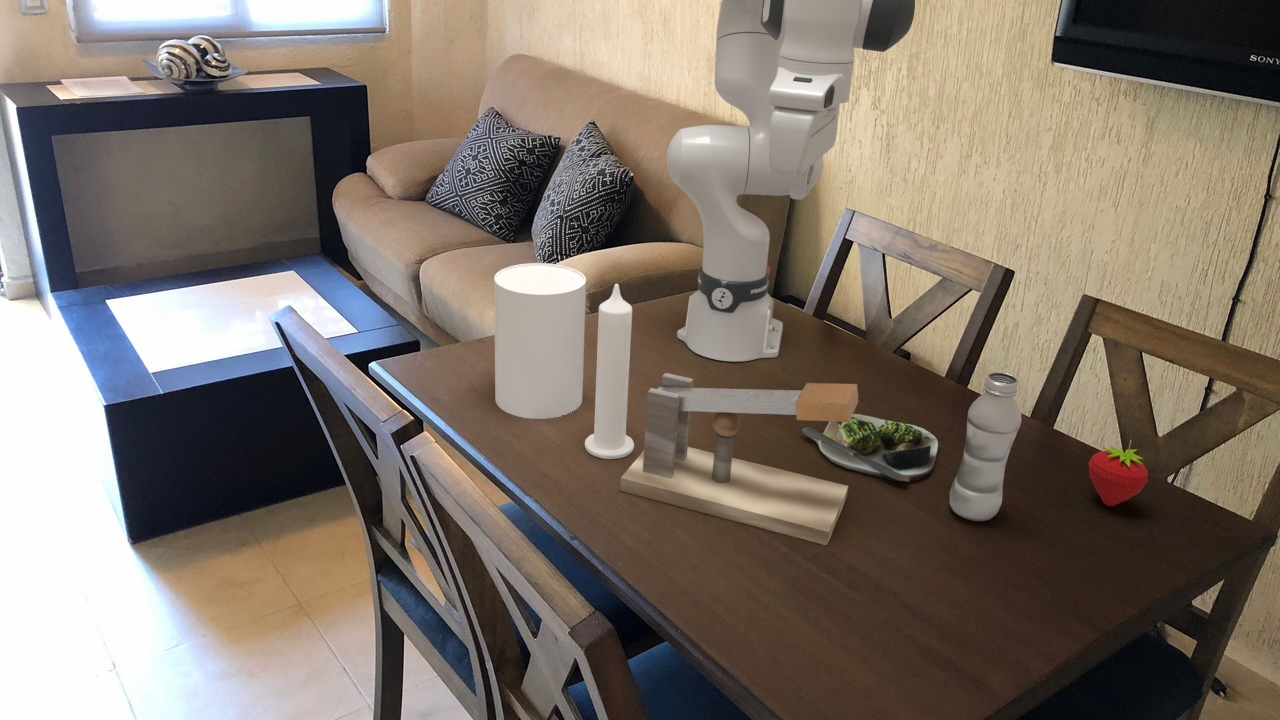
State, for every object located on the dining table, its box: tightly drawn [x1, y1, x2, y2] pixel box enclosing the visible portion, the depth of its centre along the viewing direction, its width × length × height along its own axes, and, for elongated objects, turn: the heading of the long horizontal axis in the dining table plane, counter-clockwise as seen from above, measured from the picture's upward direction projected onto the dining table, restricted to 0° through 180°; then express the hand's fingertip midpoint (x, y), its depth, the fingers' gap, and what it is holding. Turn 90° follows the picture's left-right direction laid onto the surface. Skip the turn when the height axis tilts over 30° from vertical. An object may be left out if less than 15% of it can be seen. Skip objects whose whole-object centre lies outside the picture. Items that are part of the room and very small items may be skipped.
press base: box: [619, 372, 849, 546], centre depth 131 cm, size 12×28×14 cm, turn 68°
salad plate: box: [802, 413, 940, 483], centre depth 147 cm, size 19×18×5 cm
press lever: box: [657, 382, 859, 422], centre depth 128 cm, size 6×26×2 cm, turn 68°
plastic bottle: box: [949, 371, 1022, 522], centre depth 129 cm, size 6×7×20 cm
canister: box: [493, 262, 587, 420], centre depth 153 cm, size 14×14×20 cm
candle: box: [584, 283, 635, 460], centre depth 139 cm, size 7×7×25 cm
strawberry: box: [1088, 439, 1149, 507], centre depth 135 cm, size 6×8×10 cm
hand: (799, 196), depth 125 cm, fingers closed
